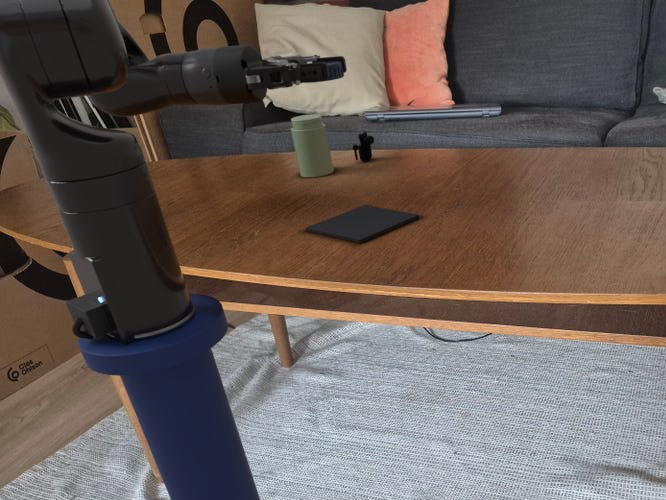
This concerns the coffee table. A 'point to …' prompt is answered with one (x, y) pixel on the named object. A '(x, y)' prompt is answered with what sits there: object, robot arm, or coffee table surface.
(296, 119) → the jar
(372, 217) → the coaster
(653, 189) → the coffee table surface
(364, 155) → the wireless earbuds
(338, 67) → the jar lid
